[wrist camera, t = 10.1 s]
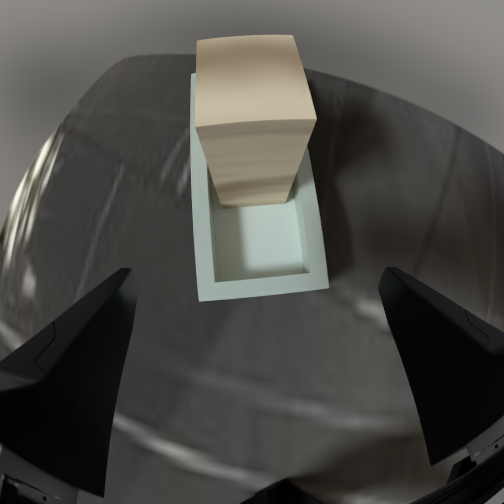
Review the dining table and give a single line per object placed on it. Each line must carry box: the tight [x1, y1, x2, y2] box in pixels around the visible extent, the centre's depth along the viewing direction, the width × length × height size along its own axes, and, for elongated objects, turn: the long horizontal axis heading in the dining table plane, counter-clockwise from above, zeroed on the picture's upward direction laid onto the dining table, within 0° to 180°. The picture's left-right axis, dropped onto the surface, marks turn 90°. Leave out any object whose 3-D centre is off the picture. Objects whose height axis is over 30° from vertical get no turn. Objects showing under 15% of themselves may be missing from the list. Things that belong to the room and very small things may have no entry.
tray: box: [190, 73, 329, 301], centre depth 22 cm, size 20×9×4 cm, turn 6°
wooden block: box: [195, 35, 317, 209], centre depth 17 cm, size 6×5×12 cm
